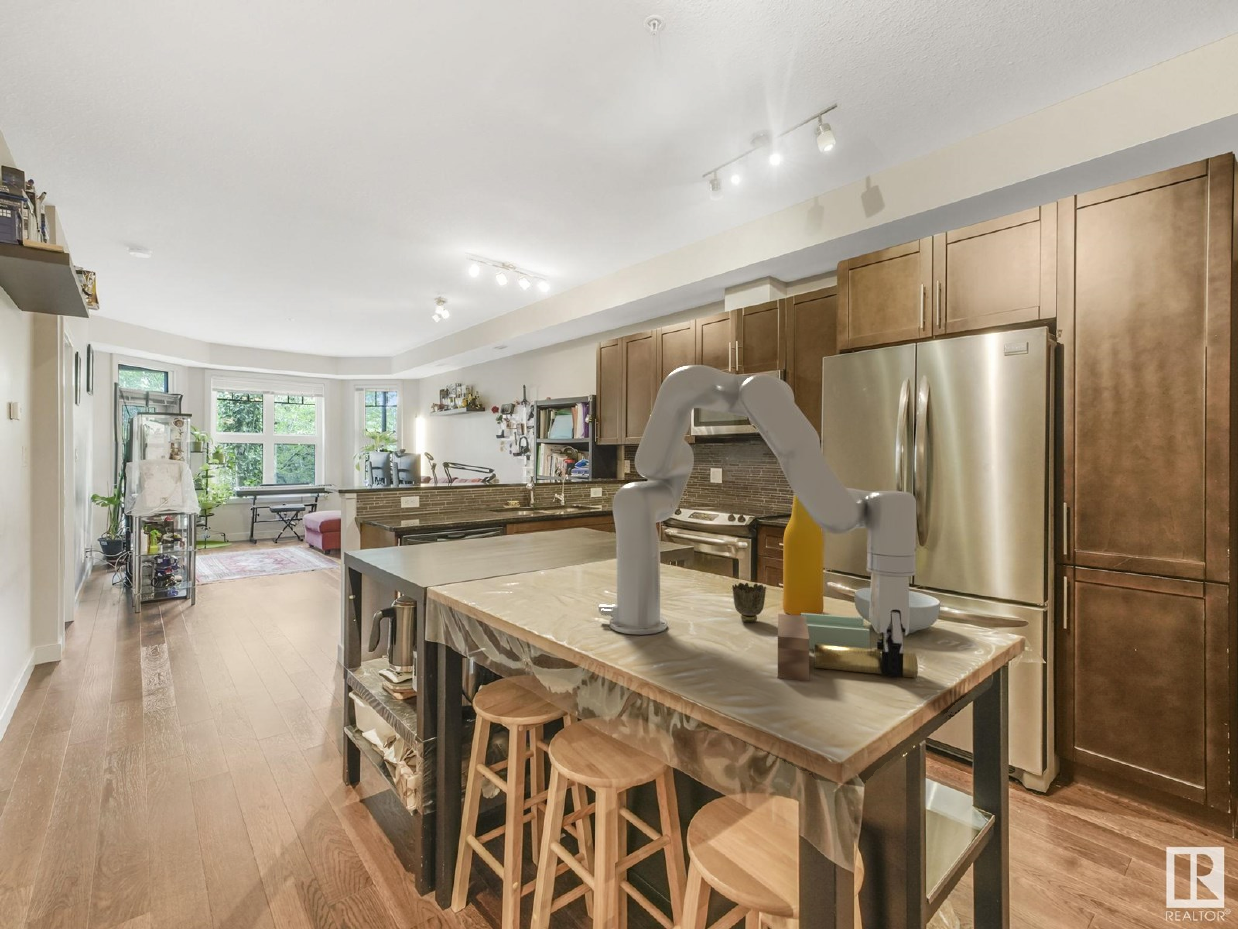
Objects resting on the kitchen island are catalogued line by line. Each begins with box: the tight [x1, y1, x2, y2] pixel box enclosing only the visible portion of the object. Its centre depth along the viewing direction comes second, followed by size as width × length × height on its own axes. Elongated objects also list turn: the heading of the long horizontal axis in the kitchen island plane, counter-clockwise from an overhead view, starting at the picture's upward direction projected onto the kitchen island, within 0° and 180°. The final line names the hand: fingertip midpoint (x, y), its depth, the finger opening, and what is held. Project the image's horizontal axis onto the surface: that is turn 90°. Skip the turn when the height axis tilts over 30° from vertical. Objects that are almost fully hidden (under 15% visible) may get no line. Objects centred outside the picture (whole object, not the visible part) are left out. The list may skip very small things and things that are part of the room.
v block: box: [801, 613, 871, 650], centre depth 111 cm, size 12×9×4 cm
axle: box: [813, 644, 919, 679], centre depth 97 cm, size 16×4×4 cm, turn 74°
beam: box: [777, 613, 810, 682], centre depth 100 cm, size 5×14×7 cm, turn 164°
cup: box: [731, 582, 767, 624], centre depth 127 cm, size 8×7×8 cm
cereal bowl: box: [853, 587, 941, 634], centre depth 122 cm, size 17×17×7 cm
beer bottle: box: [782, 492, 825, 616], centre depth 134 cm, size 9×9×29 cm
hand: (889, 669), depth 96 cm, fingers closed on axle, 4 cm apart
